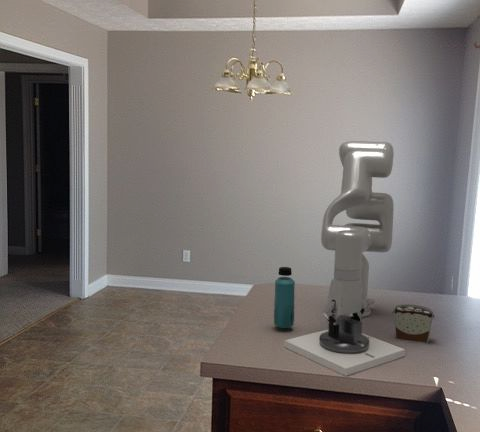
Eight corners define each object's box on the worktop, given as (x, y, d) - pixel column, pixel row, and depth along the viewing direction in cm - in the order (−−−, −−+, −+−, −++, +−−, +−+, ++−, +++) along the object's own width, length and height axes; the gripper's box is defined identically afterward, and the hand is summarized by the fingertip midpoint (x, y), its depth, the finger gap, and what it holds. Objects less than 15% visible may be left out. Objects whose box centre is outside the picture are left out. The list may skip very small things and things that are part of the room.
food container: (433, 337, 175) (435, 306, 174) (432, 344, 169) (435, 312, 168) (392, 332, 179) (393, 301, 178) (390, 338, 173) (392, 307, 172)
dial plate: (341, 331, 178) (342, 325, 178) (404, 356, 159) (405, 349, 159) (284, 347, 164) (284, 340, 164) (345, 376, 145) (346, 368, 145)
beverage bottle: (292, 333, 176) (295, 270, 173) (271, 331, 177) (273, 269, 174) (294, 326, 182) (297, 266, 179) (274, 324, 184) (276, 264, 181)
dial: (309, 341, 163) (310, 316, 162) (342, 332, 171) (344, 308, 170) (345, 357, 152) (346, 330, 151) (379, 346, 160) (380, 321, 159)
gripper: (358, 268, 167) (355, 325, 169) (315, 275, 157) (313, 336, 159) (378, 273, 161) (375, 332, 163) (335, 281, 151) (332, 344, 153)
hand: (344, 333), depth 161 cm, fingers open, 8 cm apart
